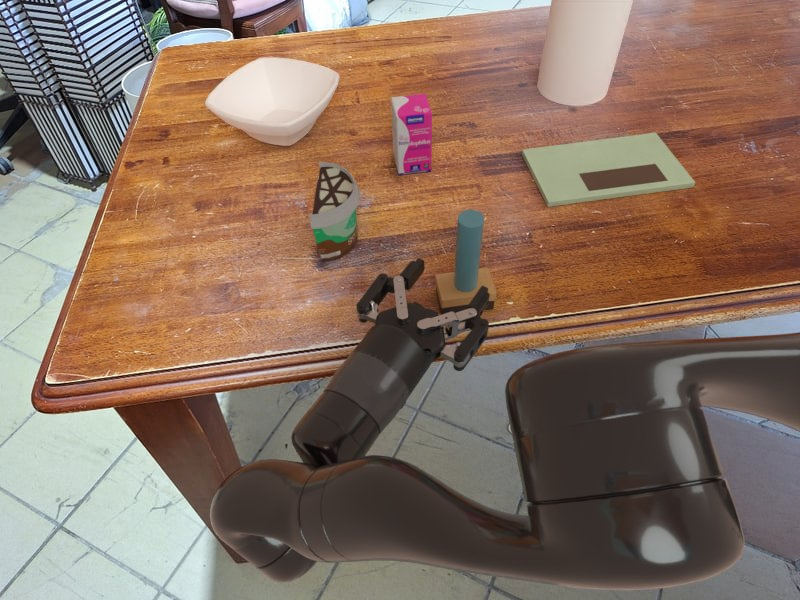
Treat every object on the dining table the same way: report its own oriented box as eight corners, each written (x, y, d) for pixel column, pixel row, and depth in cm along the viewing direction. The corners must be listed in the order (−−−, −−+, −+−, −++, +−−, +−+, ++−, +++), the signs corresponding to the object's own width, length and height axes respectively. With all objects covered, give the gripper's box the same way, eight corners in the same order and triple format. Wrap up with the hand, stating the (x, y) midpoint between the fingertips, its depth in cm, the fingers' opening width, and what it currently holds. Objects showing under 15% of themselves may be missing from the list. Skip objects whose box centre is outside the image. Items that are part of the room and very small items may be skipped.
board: (653, 137, 93) (655, 132, 92) (693, 187, 84) (695, 182, 83) (521, 154, 91) (522, 149, 90) (547, 207, 83) (548, 202, 82)
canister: (533, 70, 109) (550, -39, 93) (599, 69, 108) (628, -42, 92) (541, 106, 100) (562, -7, 85) (614, 105, 100) (648, -10, 84)
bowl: (205, 148, 96) (188, 106, 89) (269, 92, 108) (258, 51, 101) (300, 176, 90) (290, 132, 83) (358, 113, 101) (353, 70, 95)
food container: (362, 268, 76) (355, 216, 68) (320, 269, 76) (308, 217, 68) (367, 211, 84) (361, 158, 76) (328, 211, 84) (318, 159, 76)
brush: (485, 284, 73) (496, 200, 61) (494, 310, 70) (507, 227, 59) (434, 291, 73) (436, 208, 61) (441, 317, 70) (443, 236, 58)
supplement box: (398, 177, 89) (395, 116, 80) (393, 156, 92) (389, 95, 83) (432, 172, 89) (432, 111, 80) (425, 152, 93) (425, 91, 84)
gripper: (436, 393, 49) (511, 278, 57) (316, 329, 54) (400, 233, 62) (436, 428, 55) (504, 320, 63) (327, 367, 60) (403, 275, 68)
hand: (452, 277), depth 63 cm, fingers open, 8 cm apart
